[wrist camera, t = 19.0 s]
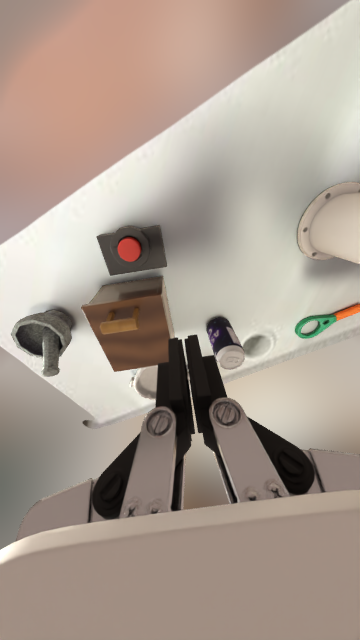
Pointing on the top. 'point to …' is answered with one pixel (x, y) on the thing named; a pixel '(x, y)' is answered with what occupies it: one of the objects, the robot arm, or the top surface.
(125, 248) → the button
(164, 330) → the wooden box lid
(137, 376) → the dish
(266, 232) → the top surface
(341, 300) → the top surface
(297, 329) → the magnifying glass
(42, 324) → the mortar and pestle
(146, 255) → the control block
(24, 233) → the top surface
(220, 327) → the beverage can
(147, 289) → the brown open box
